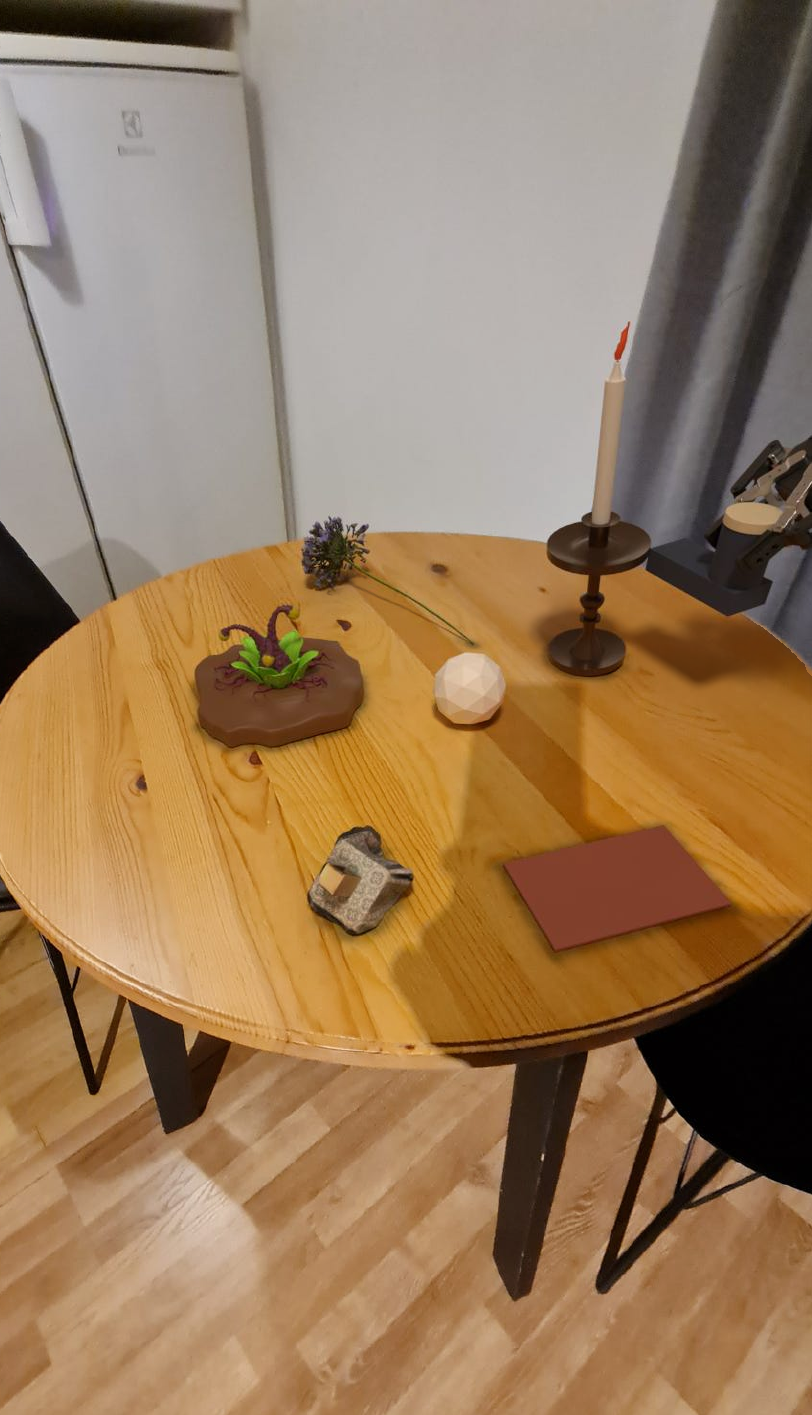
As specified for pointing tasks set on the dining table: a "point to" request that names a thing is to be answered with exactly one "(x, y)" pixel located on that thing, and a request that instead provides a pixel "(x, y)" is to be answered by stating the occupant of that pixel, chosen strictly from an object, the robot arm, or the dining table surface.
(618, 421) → the candlestick
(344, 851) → the grey patterned crumpled piece
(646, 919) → the mat
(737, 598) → the bootie
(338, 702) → the plant
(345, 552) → the flower
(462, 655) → the geometric ball
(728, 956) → the dining table surface
